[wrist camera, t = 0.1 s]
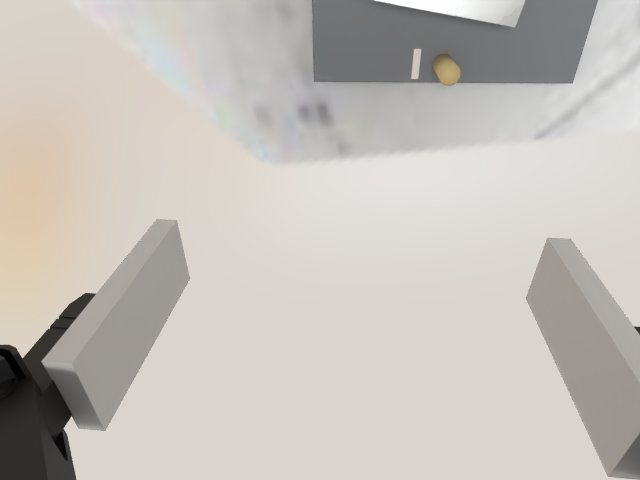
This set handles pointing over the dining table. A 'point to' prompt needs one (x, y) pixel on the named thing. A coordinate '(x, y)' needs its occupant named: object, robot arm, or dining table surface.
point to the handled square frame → (471, 9)
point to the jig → (447, 43)
